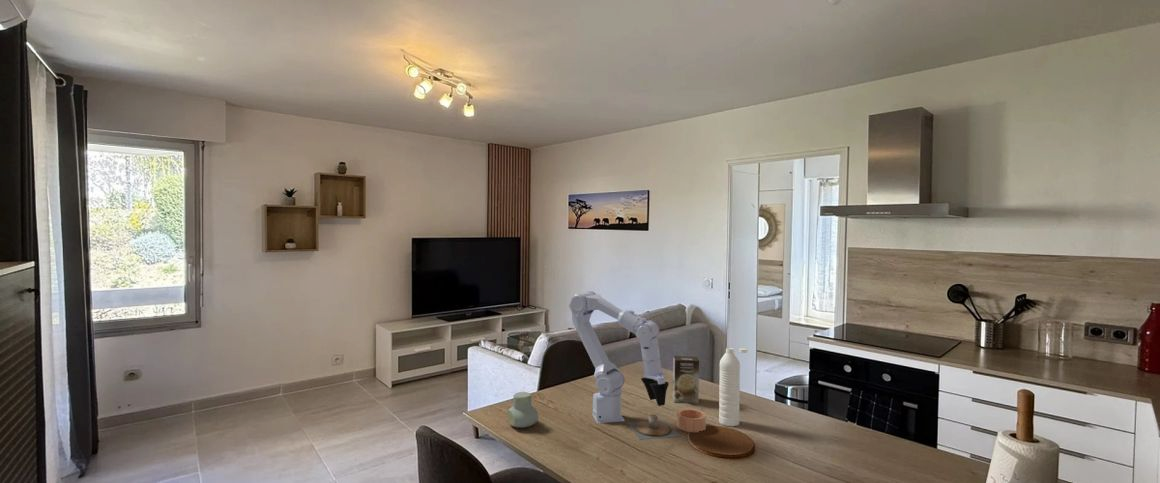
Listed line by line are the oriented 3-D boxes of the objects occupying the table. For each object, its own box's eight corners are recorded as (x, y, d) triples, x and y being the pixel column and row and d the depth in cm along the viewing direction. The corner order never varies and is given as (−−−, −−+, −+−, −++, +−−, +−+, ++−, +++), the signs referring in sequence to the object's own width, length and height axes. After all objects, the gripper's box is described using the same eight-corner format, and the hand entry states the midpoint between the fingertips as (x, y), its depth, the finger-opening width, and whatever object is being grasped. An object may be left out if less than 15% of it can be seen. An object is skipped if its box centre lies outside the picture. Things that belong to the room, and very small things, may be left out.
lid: (641, 437, 148) (641, 424, 148) (631, 423, 158) (631, 410, 158) (675, 435, 150) (675, 421, 150) (663, 421, 160) (663, 408, 160)
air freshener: (505, 421, 162) (505, 391, 162) (528, 416, 166) (528, 387, 165) (516, 433, 152) (516, 401, 152) (540, 428, 156) (540, 397, 156)
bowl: (683, 434, 151) (683, 420, 151) (673, 423, 160) (673, 409, 160) (710, 432, 153) (710, 418, 153) (698, 421, 162) (698, 407, 162)
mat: (639, 441, 147) (639, 439, 146) (627, 424, 159) (627, 422, 159) (680, 437, 149) (680, 436, 149) (665, 421, 162) (665, 419, 162)
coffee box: (673, 403, 179) (674, 359, 178) (672, 397, 185) (672, 355, 185) (699, 403, 178) (699, 360, 177) (696, 397, 184) (696, 356, 184)
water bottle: (719, 425, 158) (719, 349, 157) (718, 418, 164) (719, 345, 164) (747, 428, 156) (748, 351, 155) (745, 420, 162) (746, 346, 162)
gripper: (671, 361, 149) (677, 405, 148) (655, 354, 163) (661, 394, 162) (649, 364, 148) (655, 409, 147) (635, 357, 162) (641, 398, 161)
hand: (657, 402), depth 154 cm, fingers open, 7 cm apart
